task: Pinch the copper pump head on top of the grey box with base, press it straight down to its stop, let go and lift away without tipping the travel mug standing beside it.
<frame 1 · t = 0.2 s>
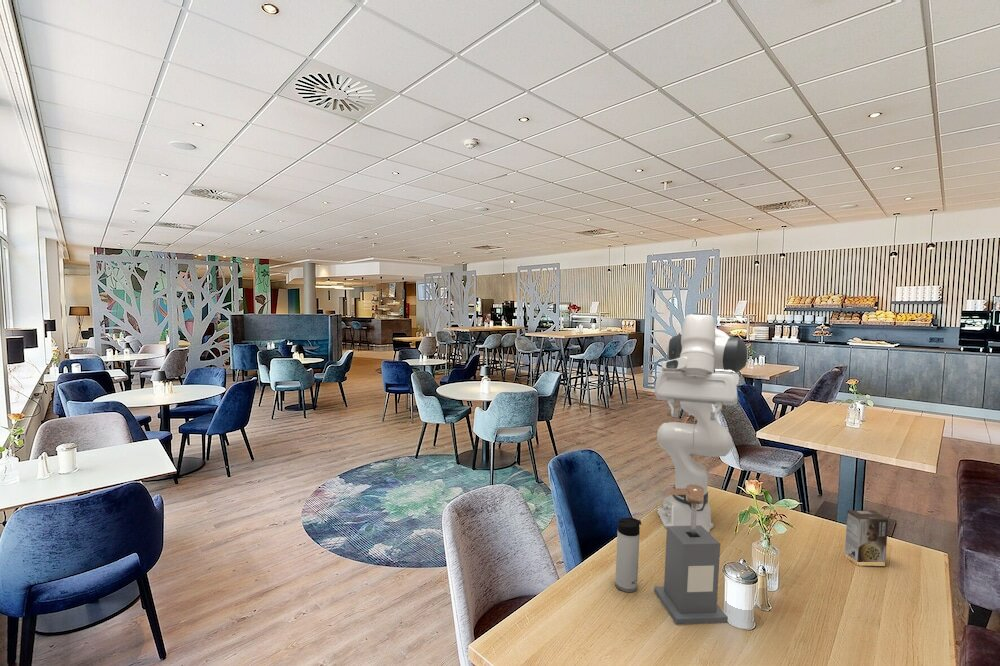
hand: (693, 418, 122), 54 cm above the table, tool tilted 25°, fingers open, 8 cm apart
travel mug: (626, 586, 139), on the table
coffee box: (863, 562, 156), on the table
pump head: (684, 522, 128), point 24 cm above the table, slide at 0.0 cm
grey box with base: (688, 606, 130), on the table
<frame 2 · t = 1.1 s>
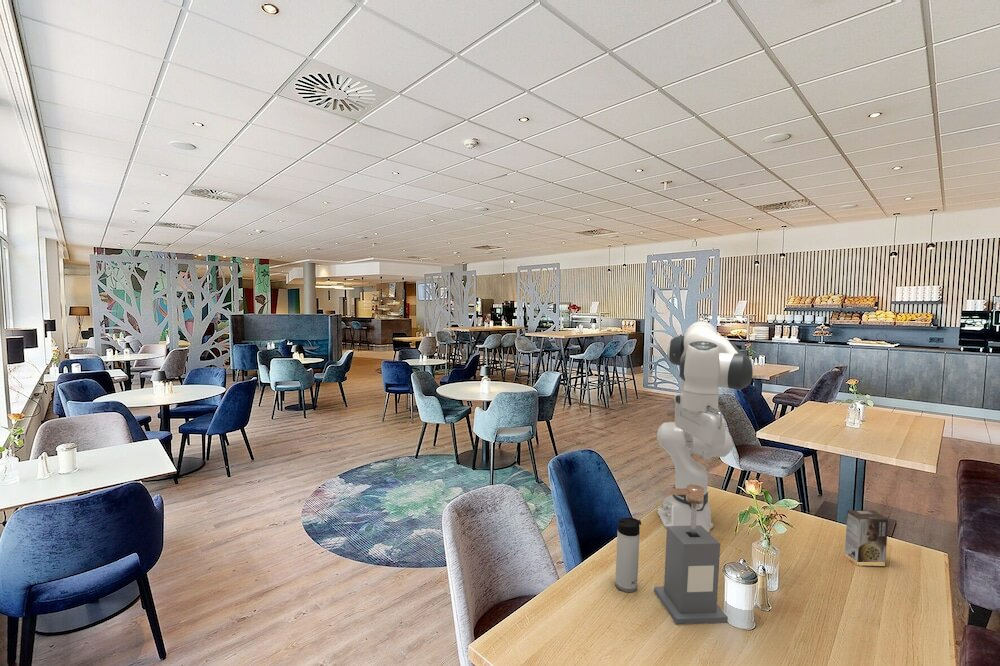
hand: (697, 453, 127), 43 cm above the table, tool pointing down, fingers open, 8 cm apart
nothing on the table moved.
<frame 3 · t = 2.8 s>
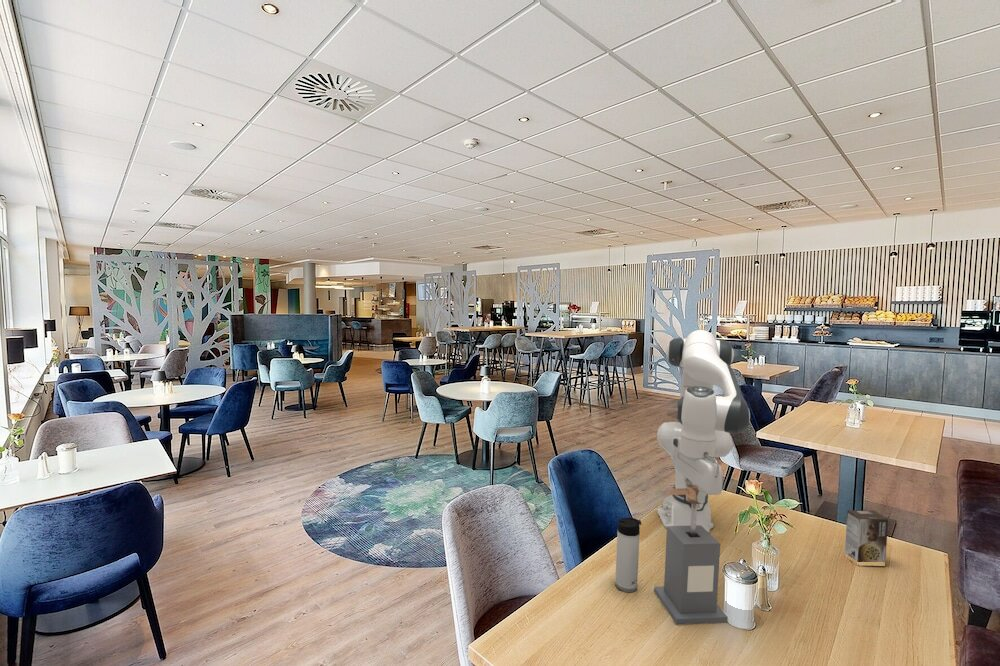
hand: (694, 497, 128), 31 cm above the table, tool pointing down, fingers closed on pump head, 4 cm apart
pump head: (684, 523, 128), point 24 cm above the table, slide at 0.0 cm, touching gripper
everything else where it was.
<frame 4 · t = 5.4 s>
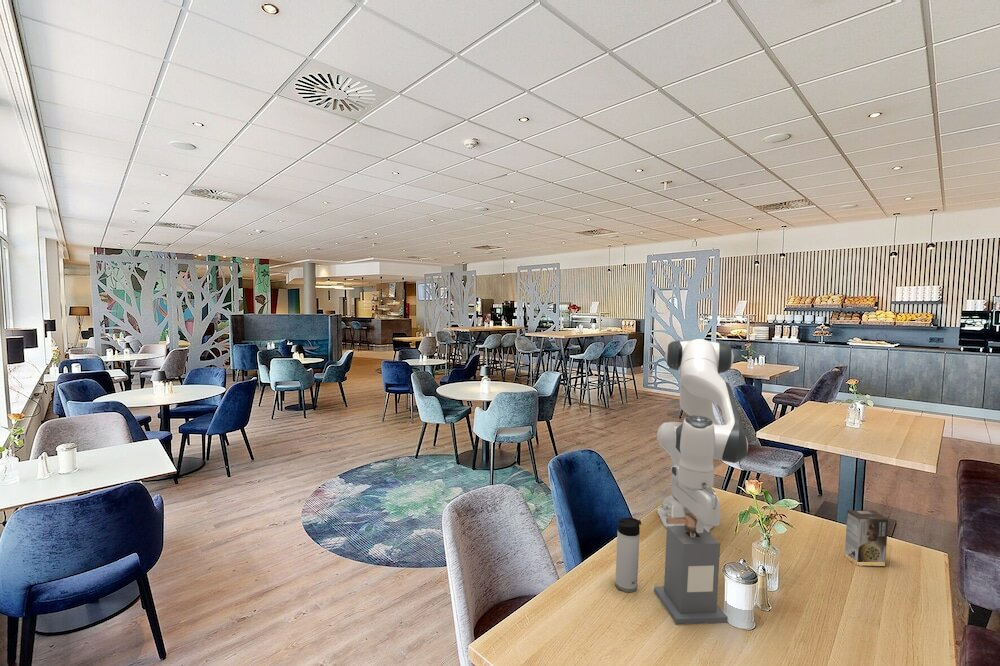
hand: (693, 526, 129), 23 cm above the table, tool pointing down, fingers closed on pump head, 4 cm apart
pump head: (682, 551, 129), point 16 cm above the table, slide at 8.1 cm, touching gripper
everything else where it was.
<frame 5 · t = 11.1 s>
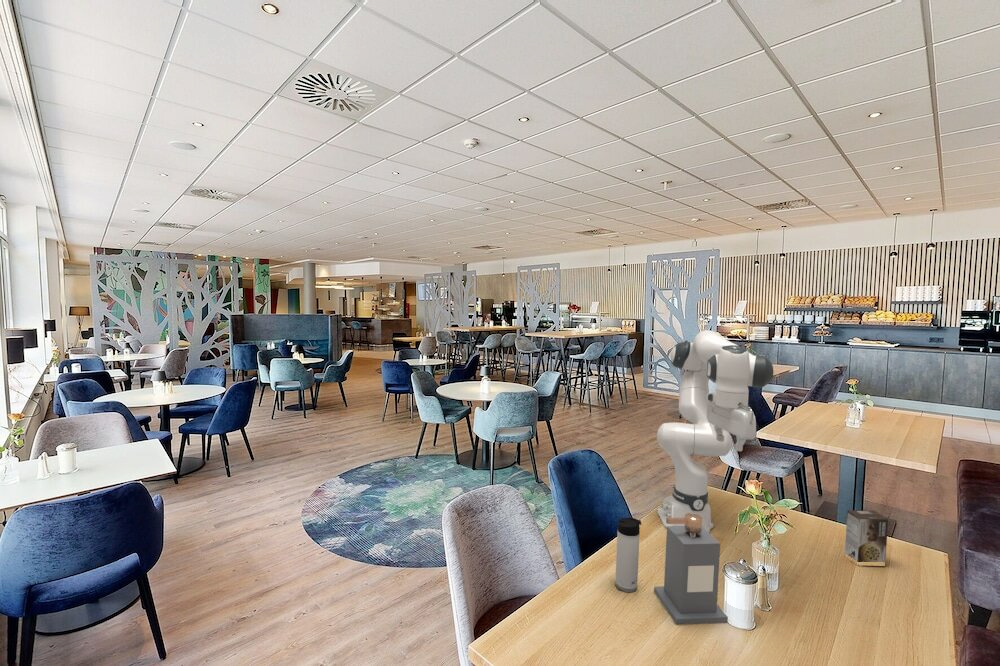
hand: (728, 445, 142), 41 cm above the table, tool pointing down, fingers open, 8 cm apart
pump head: (682, 551, 129), point 16 cm above the table, slide at 8.1 cm
everything else where it was.
at the end: pump head slide at 8.1 cm; the gripper is holding nothing; travel mug tilted 0° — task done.
